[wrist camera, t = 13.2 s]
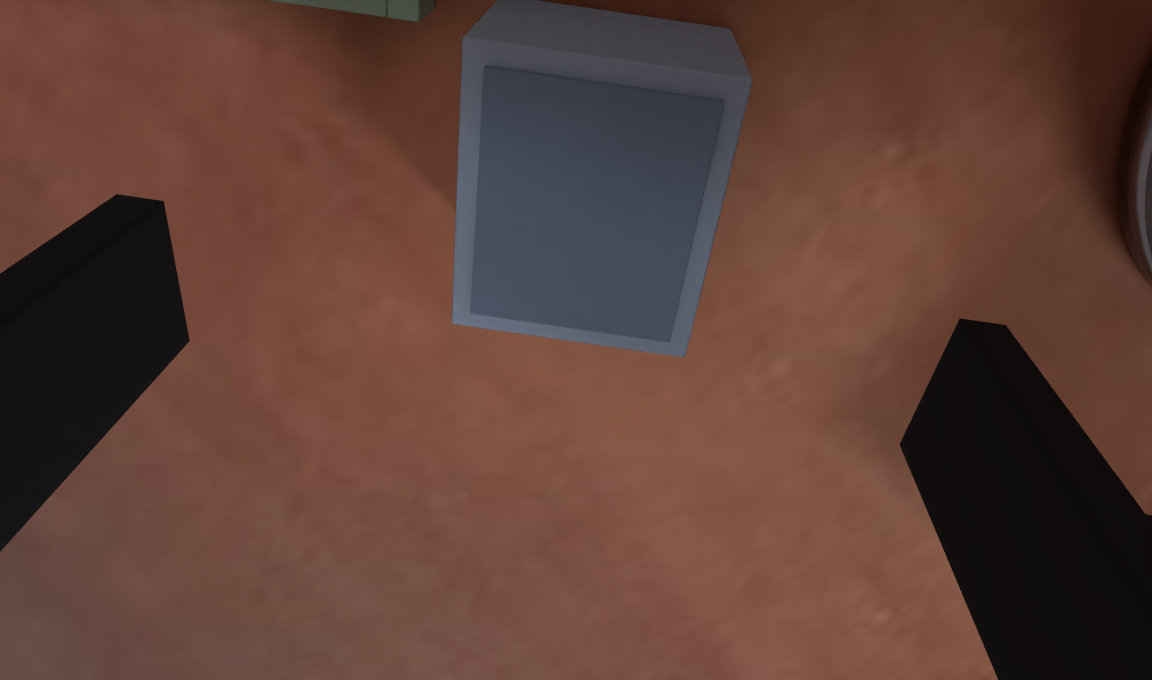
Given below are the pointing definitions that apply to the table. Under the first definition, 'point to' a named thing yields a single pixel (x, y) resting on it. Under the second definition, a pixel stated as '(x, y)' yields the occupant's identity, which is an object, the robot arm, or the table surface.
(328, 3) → the backing tray
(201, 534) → the table surface
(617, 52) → the blue box
